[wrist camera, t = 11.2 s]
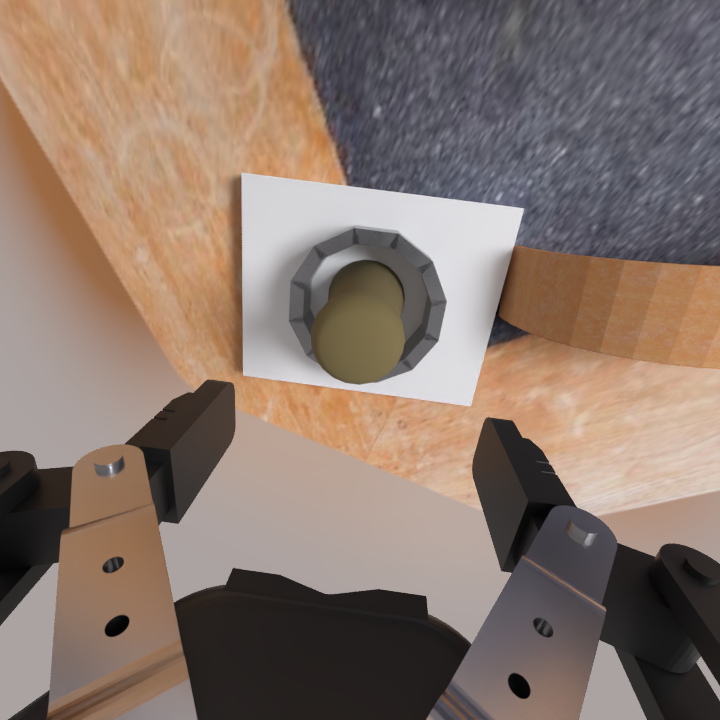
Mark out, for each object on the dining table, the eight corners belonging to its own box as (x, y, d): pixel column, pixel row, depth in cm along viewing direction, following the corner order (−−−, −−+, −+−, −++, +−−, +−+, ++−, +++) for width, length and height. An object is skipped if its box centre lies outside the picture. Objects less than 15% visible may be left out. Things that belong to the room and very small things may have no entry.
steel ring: (452, 237, 27) (459, 241, 24) (424, 373, 31) (428, 390, 29) (302, 218, 27) (292, 219, 24) (295, 356, 32) (286, 371, 29)
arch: (509, 241, 29) (568, 260, 19) (785, 249, 28) (986, 273, 18) (497, 314, 31) (544, 362, 22) (751, 324, 30) (914, 379, 21)
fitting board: (517, 208, 27) (523, 208, 26) (467, 397, 34) (470, 406, 32) (248, 174, 28) (241, 172, 26) (248, 368, 34) (243, 375, 33)
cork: (420, 305, 29) (438, 359, 19) (360, 349, 31) (348, 420, 21) (372, 242, 28) (364, 265, 17) (312, 292, 29) (273, 340, 19)
